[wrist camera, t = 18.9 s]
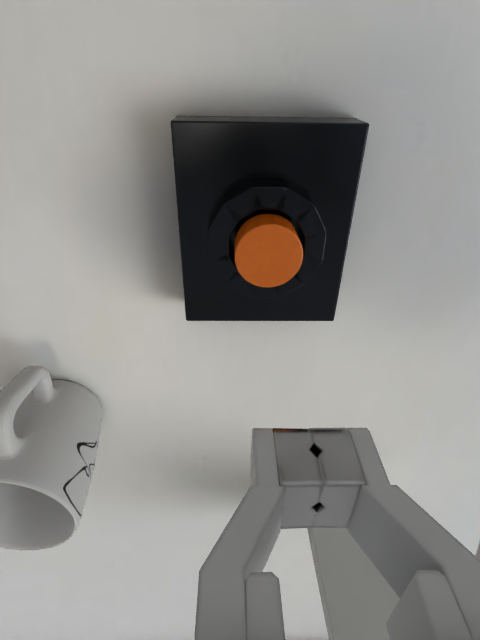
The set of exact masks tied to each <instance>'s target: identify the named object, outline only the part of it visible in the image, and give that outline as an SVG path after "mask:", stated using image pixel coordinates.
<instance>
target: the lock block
mask: <svg viewBox="0 0 480 640" xmlns="http://www.w3.org/2000/svg"><path fill="white" fill-rule="evenodd" d="M368 129H369V124H368V123H366V122H364V121H361V120H359V119H357V118H311V117H238V116H176V117H175V118H174V119H173V120H172V121H171V132H172V145H173V158H174V171H175V184H176V196H177V209H178V222H179V235H180V248H181V260H182V273H183V286H184V299H185V312H186V320H187V321H333V320H334V315H335V310H336V304H337V299H338V293H339V288H340V283H341V277H342V272H343V266H344V261H345V255H346V250H347V244H348V239H349V233H350V228H351V222H352V217H353V211H354V206H355V200H356V195H357V189H358V184H359V178H360V173H361V167H362V162H363V156H364V151H365V145H366V140H367V134H368ZM267 213H269V214H276V215H279V216H282V217H284V218H285V219H287V220H288V221H289V222H290V223H291V224H292V225H293V226H294V228H295V229H296V232H297V234H298V237H299V239H300V242H301V244H302V248H303V260H302V264H301V266H300V268H299V270H298V272H297V273H296V274H295V275H294V277H292V278H291V279H290V280H289V281H287V282H286V283H284V284H282V285H279V286H275V287H259V286H256V285H253V284H251V283H249V282H248V281H246V280H245V279H244V278H243V277H242V276H241V275H240V273H239V272H238V270H237V268H236V265H235V257H234V242H235V237H236V234H237V232H238V230H239V229H240V227H241V226H242V225H243V224H244V223H245V222H246V221H247V220H249V219H250V218H252V217H254V216H256V215H260V214H267Z"/></svg>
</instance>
